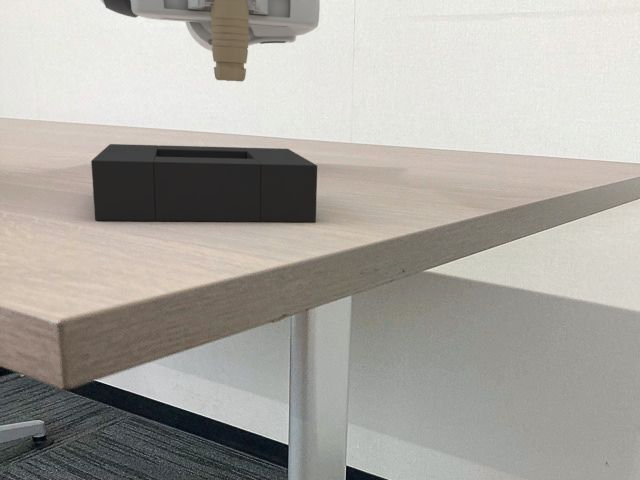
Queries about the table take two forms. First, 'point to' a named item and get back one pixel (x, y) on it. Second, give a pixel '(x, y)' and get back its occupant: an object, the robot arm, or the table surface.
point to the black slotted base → (203, 184)
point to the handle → (230, 38)
